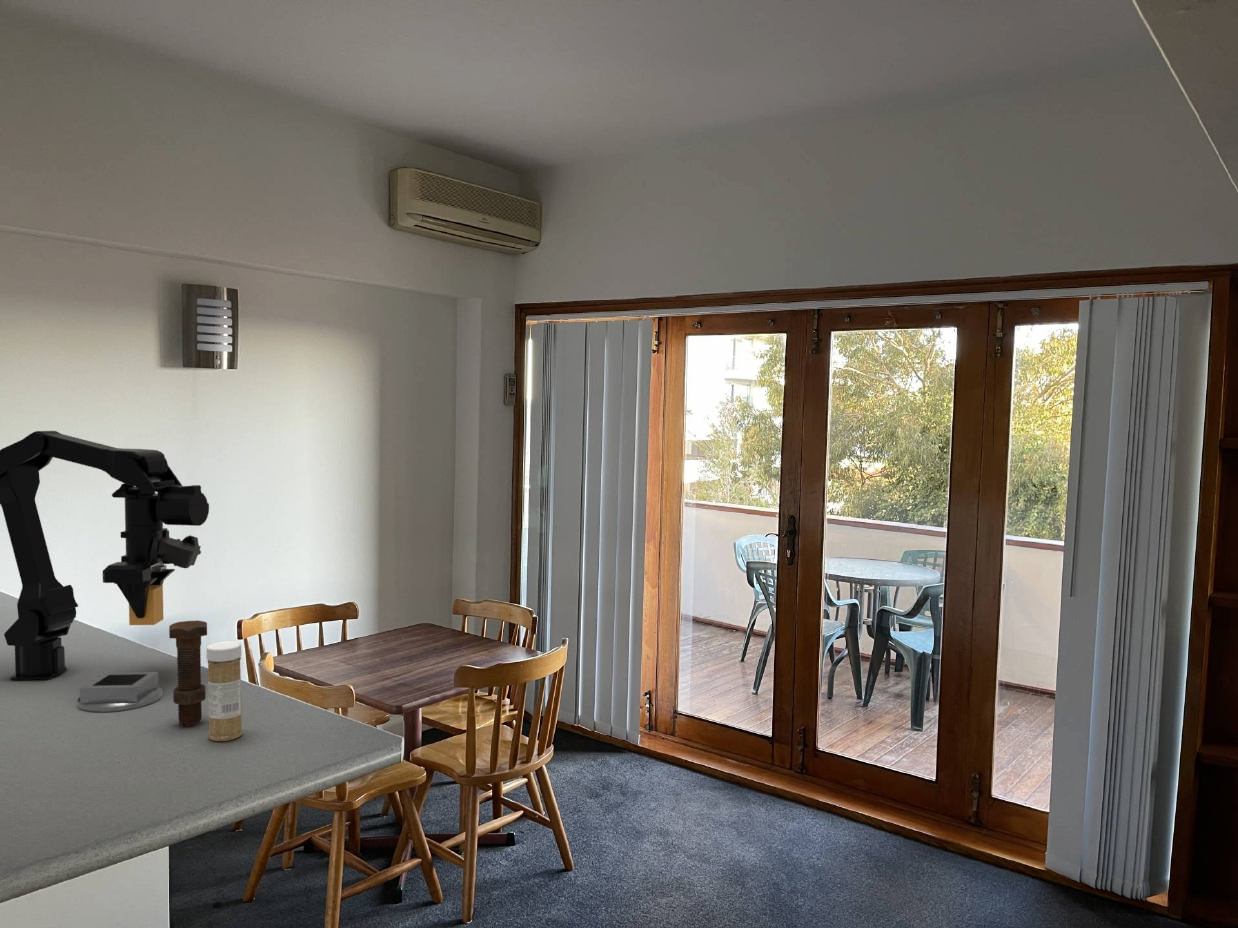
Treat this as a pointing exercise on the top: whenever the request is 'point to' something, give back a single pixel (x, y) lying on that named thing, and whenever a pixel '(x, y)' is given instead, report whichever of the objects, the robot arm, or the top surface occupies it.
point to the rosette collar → (120, 692)
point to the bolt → (189, 670)
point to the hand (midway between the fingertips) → (146, 615)
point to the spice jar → (224, 690)
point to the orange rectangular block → (150, 608)
